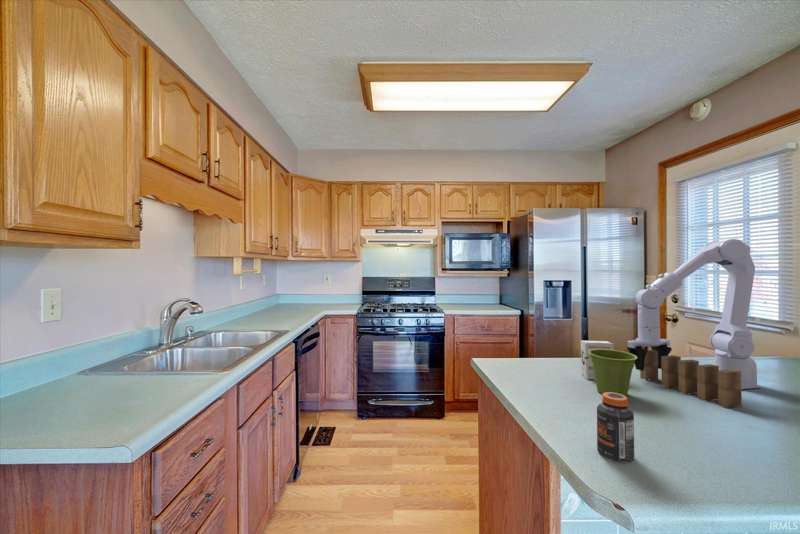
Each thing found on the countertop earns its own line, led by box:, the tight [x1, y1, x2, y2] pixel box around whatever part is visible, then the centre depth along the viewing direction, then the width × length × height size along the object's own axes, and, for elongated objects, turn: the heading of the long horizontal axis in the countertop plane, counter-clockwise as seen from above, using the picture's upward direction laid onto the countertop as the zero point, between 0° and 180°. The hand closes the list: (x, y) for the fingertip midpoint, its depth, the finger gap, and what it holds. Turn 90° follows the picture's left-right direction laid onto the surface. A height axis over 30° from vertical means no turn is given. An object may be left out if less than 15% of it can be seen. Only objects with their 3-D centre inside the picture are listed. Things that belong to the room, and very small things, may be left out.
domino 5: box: [717, 369, 743, 409], centre depth 86 cm, size 5×2×9 cm, turn 102°
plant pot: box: [588, 349, 638, 397], centre depth 95 cm, size 12×12×11 cm
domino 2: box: [660, 355, 682, 388], centre depth 100 cm, size 5×2×9 cm, turn 102°
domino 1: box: [639, 349, 659, 381], centre depth 107 cm, size 5×2×9 cm, turn 103°
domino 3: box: [678, 359, 700, 395], centre depth 96 cm, size 5×2×9 cm, turn 102°
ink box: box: [580, 339, 615, 381], centre depth 109 cm, size 9×5×12 cm, turn 80°
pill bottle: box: [596, 392, 635, 464], centre depth 63 cm, size 6×6×11 cm
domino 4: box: [696, 363, 719, 401], centre depth 91 cm, size 5×2×9 cm, turn 102°
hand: (649, 369), depth 107 cm, fingers open, 7 cm apart
